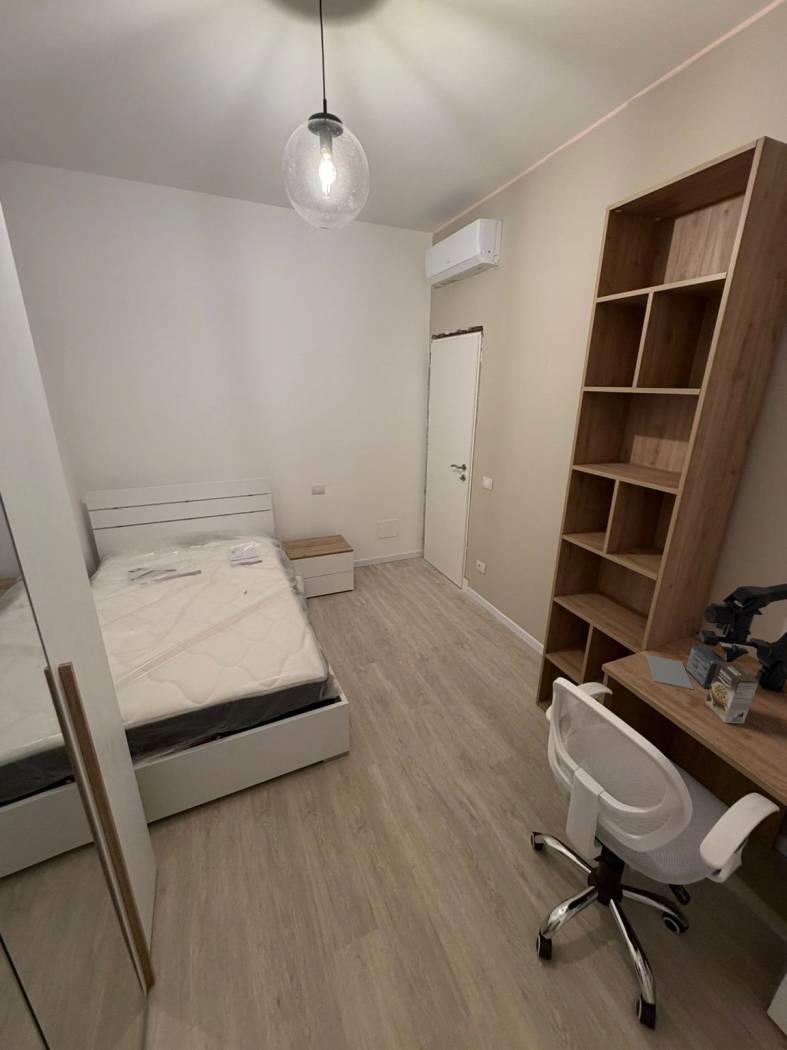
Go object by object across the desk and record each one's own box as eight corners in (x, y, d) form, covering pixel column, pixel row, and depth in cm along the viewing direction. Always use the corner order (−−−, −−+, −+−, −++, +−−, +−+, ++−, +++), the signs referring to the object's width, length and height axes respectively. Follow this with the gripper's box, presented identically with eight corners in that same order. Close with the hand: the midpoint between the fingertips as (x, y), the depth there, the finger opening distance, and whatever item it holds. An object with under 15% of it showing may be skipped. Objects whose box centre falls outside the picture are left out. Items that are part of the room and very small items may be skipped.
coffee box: (704, 702, 139) (716, 661, 133) (724, 702, 138) (737, 661, 133) (724, 723, 130) (738, 680, 125) (745, 723, 130) (760, 680, 125)
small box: (722, 689, 144) (730, 663, 141) (703, 688, 145) (710, 663, 141) (702, 669, 154) (709, 645, 151) (684, 669, 155) (690, 644, 151)
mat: (681, 662, 158) (681, 661, 158) (693, 690, 144) (694, 689, 144) (645, 655, 162) (645, 654, 162) (654, 681, 148) (654, 680, 148)
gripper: (763, 617, 144) (750, 655, 149) (699, 607, 150) (689, 644, 155) (778, 634, 134) (764, 674, 139) (709, 623, 140) (698, 662, 145)
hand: (727, 663), depth 145 cm, fingers closed
